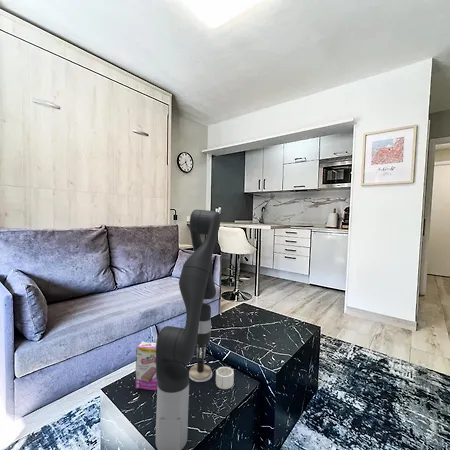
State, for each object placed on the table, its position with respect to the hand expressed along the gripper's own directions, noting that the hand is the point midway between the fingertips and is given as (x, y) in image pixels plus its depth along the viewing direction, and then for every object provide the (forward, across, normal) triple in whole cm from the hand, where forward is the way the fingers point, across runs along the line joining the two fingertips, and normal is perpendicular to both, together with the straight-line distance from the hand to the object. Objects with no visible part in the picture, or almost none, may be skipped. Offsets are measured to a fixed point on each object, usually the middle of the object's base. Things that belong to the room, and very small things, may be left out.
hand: (200, 369), depth 105 cm
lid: (+1, 0, 0) cm, 1 cm away
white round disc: (+2, 0, 0) cm, 2 cm away
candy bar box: (+3, -8, +19) cm, 21 cm away
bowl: (+2, -6, -10) cm, 12 cm away
